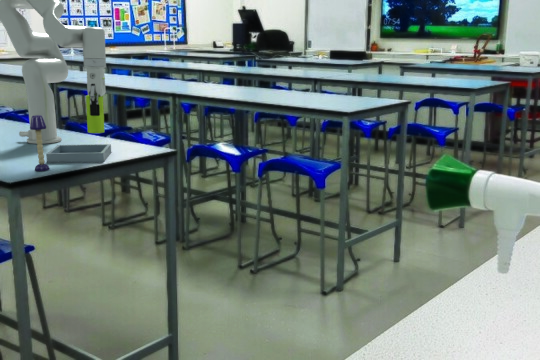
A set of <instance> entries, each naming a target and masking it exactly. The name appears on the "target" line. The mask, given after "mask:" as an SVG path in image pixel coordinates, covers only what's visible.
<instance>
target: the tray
mask: <svg viewBox="0 0 540 360" xmlns="http://www.w3.org/2000/svg"><path fill="white" fill-rule="evenodd" d="M111 154H112V145H111V144H110V143H108V144H104V143H103V144H96V143H95V144H57V145H56V146H55V147H53V148H52V149H50V150H49V151H48V152H47V153H45V157H46V163H47V164H62V163H65V164H67V163H68V164H71V163H73V164H74V163H104V162H105V161H107V159H108V158H109V156H110V155H111Z"/></svg>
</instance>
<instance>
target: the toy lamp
mask: <svg viewBox="0 0 540 360" xmlns="http://www.w3.org/2000/svg"><path fill="white" fill-rule="evenodd" d="M30 129H31V130H35V133H36V139H37V140H36V142H37V144H36V149H37V154H38V155H37V157H38V164H37V165H36V166H35V167H34V171H35V172H45V171H49V170H50V166H49V165H48V163H47V164H46V163H45V162H46V161H45V155H44V154H45V153H44V144H42V135H41V130H42V129H46V124H45V122H44V119H43V117H42V116H41V115H35V116H32V118H31V124H30V123H29V130H30Z"/></svg>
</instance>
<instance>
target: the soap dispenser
mask: <svg viewBox="0 0 540 360" xmlns="http://www.w3.org/2000/svg"><path fill="white" fill-rule="evenodd" d="M102 79H105V80H106V77H105V78H104V77H103V78H102ZM95 95H96V94H95ZM85 101H86V102H85V103H86V104H85V105H86V124H87V125H86V127H87V133H89V134H103V133H105V114H104V113H105V111H104V95H103V96H100V95H99V103H98V104H99V107H100V115H99V116H91V115H90V96H89V95H88V94H87V95H85ZM96 101H97V98H96Z"/></svg>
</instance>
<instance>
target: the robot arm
mask: <svg viewBox="0 0 540 360" xmlns="http://www.w3.org/2000/svg"><path fill="white" fill-rule="evenodd" d="M17 9H21V10H22V9H23V10H24V9H25V10H34V11H36V12H37V13H38V14H39V16H40V17H42V24H43V28H44V31H45V32H36V31H33V29H32V28H31V26H30V24H29V21H28V20H27V19H26V18H25V16H24V15H23V14H22V13H21V12H20V11H18V10H17ZM64 11H65V7H64V5H63V3H62V2H61V0H0V22H1V24H2V26H3V27H4V29H5V32H6V33H7V35H8V38H9V39H10V42H11V44H12V45H13V48H14V50H15V52H16V54H17V55H18V56H19V57H20V58H23V59H27V60H26V61H24V63H23V64H22V66H21V74H22V78H23V80H24V85H25V89H26V90H25V91H26V97H27V109H28V120H29V121H28V122H29V125H30V124H31V118H32V116H35V115H41V116H42V117H43V119H44V122H45V124H46V129H42V130H41V135H42V145H44V144H54V143H59V142H61V141H62V136H59V135H58V133H57V132H58V131H57V120H56V119H57V118H56V105H55V104H56V103H55V95H54V92H53V90H52V89H51V87H50V85H49V84H51V83H52V84H53V83H54V84H55V83H61V82H62V83H63V81H65V80H67V78H68V75H69V68H68V65H67V61H66V59H65V57H64V55H63V53H62V51H61V49H60V47H61V48H65V49H71V48H77V49H78V48H81V49H82V55H83V56H82V57H83V68H85V69H86V87H87V88H86V90H87V95H89V96H90V115H91V116H99V115H100V107H99V104H98V103H99V95H100V96H103V97H104V95H106V93H107V92H106V77H105V70H104V69H106V68H107V61H106V58H107V57H106V33H105V30H104V28H102V27H98V26H93V27H92V26H85V25H65V24H63V23H62V22H61V21H60V18H62V16H63V14H64ZM103 77H104V78H105V79H102V78H103ZM95 94H96V95H95ZM96 98H97V101H96ZM18 135H19V137H22V138H23V137H27V138H26V142H27V143H28V144H36V145H37V142H36V140H37V139H36V133H35V130H31V129H30V128H29V130H28V131H26V130H25V131H22V130H21V131H19V132H18Z"/></svg>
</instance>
